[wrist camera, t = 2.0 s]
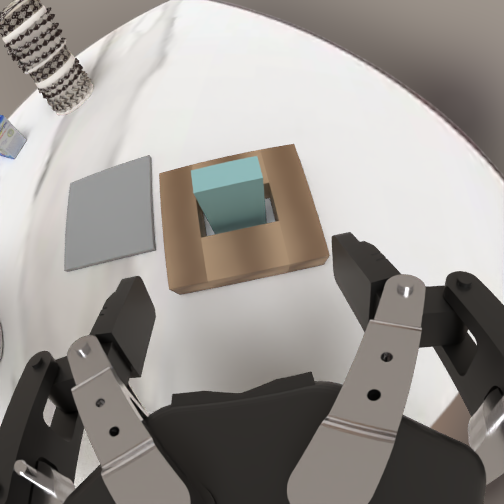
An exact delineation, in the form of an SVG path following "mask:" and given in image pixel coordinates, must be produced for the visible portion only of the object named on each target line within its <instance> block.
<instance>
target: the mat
mask: <svg viewBox="0 0 504 504" xmlns="http://www.w3.org/2000/svg"><path fill="white" fill-rule="evenodd" d="M155 250H156V249H155V236H154V222H153V204H152V178H151V157H150V155H148V156H145V157H142V158H138V159H135V160H132V161H129V162H126V163H123V164H120V165H117V166H114V167H112V168H109V169H106V170H103V171H101V172H98V173H95V174H93V175H90V176H87V177H85V178H82V179H80V180H77V181H75V182H72V183H70V190H69V198H68V208H67V219H66V234H65V265H64V271H67V272H69V271H72V270H76V269H80V268H84V267H88V266H92V265H96V264H100V263H105V262H109V261H113V260H117V259H121V258H125V257H129V256H134V255H138V254H142V253H146V252H150V251H155Z"/></svg>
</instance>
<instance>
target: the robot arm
mask: <svg viewBox="0 0 504 504" xmlns="http://www.w3.org/2000/svg"><path fill="white" fill-rule="evenodd" d="M332 255H333V271H334V276H335V280H336V282H337V284H338V286H339V288H340V290H341V291H342V293H343V295H344V296H345V298H346V300H347V302H348V303H349V305H350V307H351V309H352V310H353V312H354V314H355V316H356V317H357V319H358V321H359V323H360V325H361V326H362V328H363V330H364V332H365V334H364V336H363V339H362V341H361V344H360V346H359V349H358V351H357V354H356V356H355V359H354V361H353V363H352V366H351V368H350V370H349V373H348V375H347V377H346V379H345V382H344V384H343V385H342V384H338V383H333V382H325V381H314V378H313V375H312V372H308V373H303V374H299V375H295V376H290V377H285V378H281V379H276V380H274V381H271V382H269V383H266V384H264V385H262V386H259V387H256V388H254V389H251V390H249V391H246V392H243V393H223V392H212V391H199V392H189V393H179V394H172V403H171V405H168V406H165V407H163V408H161V409H159V410H157V411H155V412H154V413H152V414H151V415H150V414H149V413H148V412H147V410H146V409H145V407H144V406H143V404H142V403H141V401H140V400H139V398H138V397H137V395H136V393H135V392H134V390H133V389H132V387H131V386H130V385H129V383H128V381H129V378H136V377H141V374H142V369H143V365H144V361H145V357H146V353H147V349H148V345H149V341H150V337H151V333H152V330H153V326H154V322H155V318H156V315H155V308H154V305H153V303H152V301H151V299H150V296H149V294H148V292H147V290H146V287H145V285H144V283H143V281H142V279H141V277H139V276H135V277H130V278H125V279H122V280H121V282H120V284H119V286H118V288H117V290H116V292H114V293H113V294H112V295H111V296H110V297H109V298H108V299H107V300H106V302H105V304H104V306H103V310H101V312H100V314H99V316H98V318H97V320H96V322H95V324H94V326H93V328H92V330H91V332H90V334H89V335H88V336H84V337H81V338H79V339H78V340H76V341H75V342H74V343H73V344H72V345H71V346H70V348H69V350H68V353H67V356H66V357H63V358H60V359H57V360H55V359H54V358H53V357H52V355H51V354H50V353H49V352H48V351H42V352H39V353H37V354H35V355H34V356H33V357H32V358H31V359H30V360H29V362H28V363H27V365H26V367H25V369H24V371H23V373H22V376H21V378H20V380H19V382H18V384H17V387H16V389H15V391H14V394H13V396H12V398H11V401H10V403H9V406H8V408H7V411H6V413H5V416H4V419H3V421H2V424H1V427H0V504H484V496H485V489H486V485H487V484H488V483H490V482H491V481H493V480H494V479H496V478H497V477H499V476H500V475H502V474H503V473H504V305H503V304H502V303H501V302H500V301H499V300H498V299H497V298H496V297H495V295H494V294H493V293H492V292H491V291H490V290H489V289H488V288H487V287H486V286H485V285H484V284H483V283H482V282H481V281H480V280H479V279H478V278H477V277H476V276H474V275H472V274H470V273H467V272H463V271H457V272H453V273H450V274H449V275H448V276H447V278H446V282H445V286H431V287H425V284H424V283H423V282H422V281H421V280H420V279H419V278H417V277H415V276H412V275H406V274H401V273H400V272H399V271H398V270H397V269H396V268H395V267H394V266H393V265H392V264H391V263H390V262H389V261H388V259H386V258H385V256H384V255H383V254H382V253H380V251H379V250H378V249H377V248H376V247H375V246H374V245H372V244H370V243H367V242H365V241H362V242H359V241H358V240H357V239H356V237H355V236H354V235H353V234H352V233H351V232H348V233H343V234H338V235H333V236H332ZM468 329H469V330H470V332H471V333H472V334H473V336H474V337H475V339H476V342H477V345H476V344H475V342H474V341H473V340H472V338H471V337H470V335H469V334H468V333H467V331H468ZM2 346H3V341H2V330H1V326H0V359H1V355H2ZM421 347H433V348H434V349H435V351H436V353H437V354H438V356H439V358H440V359H441V361H442V363H443V365H444V366H445V368H446V370H447V371H448V373H449V375H450V377H451V379H452V380H453V382H454V384H455V386H456V388H457V390H458V391H459V393H460V395H461V397H462V399H463V401H464V403H465V405H466V407H467V409H468V411H469V413H470V415H471V417H472V418H471V419H470V422H469V425H468V434H469V444H470V447H469V446H468V445H466V444H464V443H462V442H460V441H458V440H455V439H453V438H451V437H449V436H447V435H444V434H442V433H440V432H438V431H436V430H433V429H431V428H429V427H427V426H425V425H423V424H421V423H419V422H417V421H415V420H413V419H411V418H409V417H407V416H404V415H403V412H404V408H405V405H406V401H407V397H408V394H409V390H410V386H411V382H412V377H413V373H414V369H415V364H416V359H417V354H418V349H419V348H421ZM48 398H49V399H50V400H51V402H52V403H53V404H54V405H55V406H56V409H55V413H54V416H53V419H52V423H51V426H50V427H49V426H48V425H47V424H46V423H45V421H44V419H43V411H44V408H45V405H46V402H47V399H48ZM84 428H85V430H86V433H87V435H88V437H89V440H90V442H91V444H92V447H93V449H94V451H95V453H96V455H97V458H98V460H99V462H100V465H99V466H98V467H97V468H96V469H95V470H94V471H93V472H92V473H91V474H90V475H89V476H88V477H87V478H86V479H85V480H84V481H83V482H82V483H81V484H80V485H79V486H78V487H77V488H76V489H75V486H74V479H75V472H76V466H77V460H78V455H79V450H80V444H81V439H82V435H83V430H84Z"/></svg>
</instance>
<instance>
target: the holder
mask: <svg viewBox="0 0 504 504" xmlns="http://www.w3.org/2000/svg"><path fill="white" fill-rule="evenodd" d="M254 156H257V157H258V161H259V165H260V168H261V172H262V176H263V185H264V199H265V198H270V201H271V205H272V209H273V213H274V217H275V220H276V222H271V223H267V224H262V225H257V226H252V227H248V228H243V229H238V230H234V231H229V232H224V233H220V234H215V235H211V236H206V230H205V223H204V216H203V210H202V208H201V206H200V205H199V203H198V201H197V199H196V197H195V195H194V193H193V185H192V176H191V170H195V169H199V168H203V167H207V166H212V165H216V164H220V163H225V162H229V161H234V160H239V159H244V158H249V157H254ZM159 179H160V198H161V214H162V227H163V238H164V249H165V259H166V268H167V276H168V284H169V289H170V290H172V291H174V292H176V293H178V294H179V295H180V294H186V293H191V292H196V291H201V290H206V289H211V288H216V287H221V286H226V285H231V284H236V283H241V282H246V281H250V280H255V279H260V278H265V277H269V276H274V275H279V274H283V273H288V272H292V271H297V270H301V269H306V268H310V267H315V266H319V265H324V263H325V262H326V260H327V259H328V257H329V256H330V255H329V251H328V248H327V244H326V241H325V238H324V234H323V231H322V227H321V224H320V221H319V217H318V214H317V211H316V208H315V205H314V201H313V198H312V195H311V192H310V189H309V186H308V183H307V180H306V177H305V174H304V171H303V168H302V165H301V162H300V159H299V157H298V154H297V151H296V148H295V145H294V144H290V145H284V146H278V147H273V148H267V149H262V150H256V151H251V152H246V153H241V154H237V155H232V156H227V157H223V158H218V159H214V160H210V161H206V162H201V163H197V164H193V165H189V166H185V167H182V168H178V169H174V170H170V171H167V172H163V173H160V174H159Z"/></svg>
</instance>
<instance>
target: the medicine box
mask: <svg viewBox="0 0 504 504" xmlns="http://www.w3.org/2000/svg"><path fill="white" fill-rule="evenodd" d="M25 142H26V139H25V137H24V136H23V135H22V134H21V133H20V132H19V131H18V130H17V129H16V128H15V127H14V126H13V125H12V124H11V123H10V122H9V121H8V120H7V119H6V118H5V117H4V116H3V115H0V155H1V156H5V157H9V158H12V159H15V158H16V156H17V155H18V153H19V152H20V150H21V148H22V147H23V145H24V144H25Z"/></svg>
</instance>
